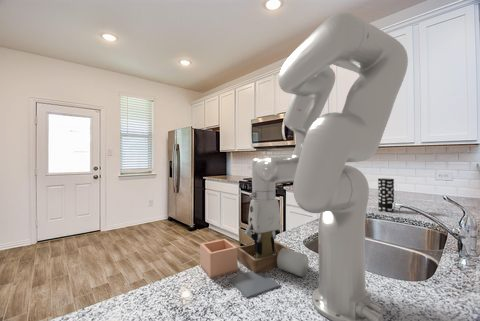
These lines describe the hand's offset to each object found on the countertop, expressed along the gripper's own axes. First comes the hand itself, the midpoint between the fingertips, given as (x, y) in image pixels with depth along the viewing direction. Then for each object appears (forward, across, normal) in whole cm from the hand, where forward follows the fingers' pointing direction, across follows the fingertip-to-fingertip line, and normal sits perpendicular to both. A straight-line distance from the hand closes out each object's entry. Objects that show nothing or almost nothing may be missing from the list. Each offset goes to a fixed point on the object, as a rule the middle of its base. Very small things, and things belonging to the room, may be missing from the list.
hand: (264, 251), depth 73 cm
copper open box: (+3, -15, +3) cm, 16 cm away
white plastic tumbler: (+3, +3, -10) cm, 11 cm away
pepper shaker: (+3, 0, 0) cm, 3 cm away
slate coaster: (+3, -10, -9) cm, 14 cm away
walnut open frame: (+3, 0, 0) cm, 3 cm away
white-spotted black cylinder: (+3, +106, +19) cm, 108 cm away
